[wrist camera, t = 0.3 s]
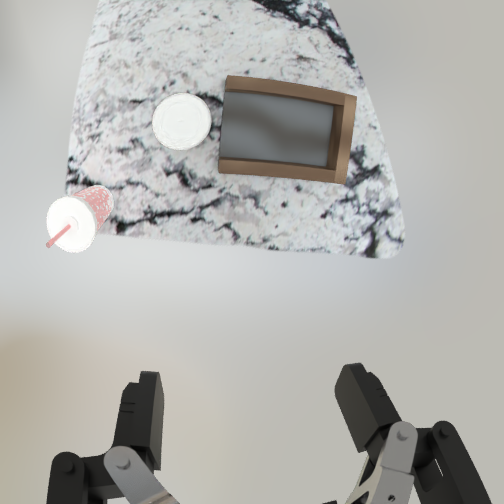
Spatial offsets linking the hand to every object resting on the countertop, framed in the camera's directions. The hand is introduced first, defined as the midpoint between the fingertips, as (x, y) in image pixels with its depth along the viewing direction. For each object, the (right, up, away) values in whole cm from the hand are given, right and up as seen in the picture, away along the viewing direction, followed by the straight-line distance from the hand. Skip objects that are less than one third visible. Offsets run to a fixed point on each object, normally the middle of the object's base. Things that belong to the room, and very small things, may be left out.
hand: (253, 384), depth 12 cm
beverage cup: (-20, +12, +22) cm, 32 cm away
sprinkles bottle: (-7, +21, +20) cm, 30 cm away
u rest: (+4, +20, +22) cm, 30 cm away
